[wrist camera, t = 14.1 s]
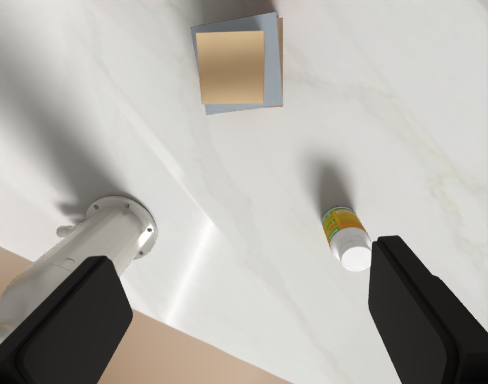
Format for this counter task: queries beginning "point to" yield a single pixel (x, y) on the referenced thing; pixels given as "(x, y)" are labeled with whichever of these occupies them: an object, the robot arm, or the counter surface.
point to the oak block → (231, 67)
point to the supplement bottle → (347, 238)
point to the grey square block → (271, 58)
